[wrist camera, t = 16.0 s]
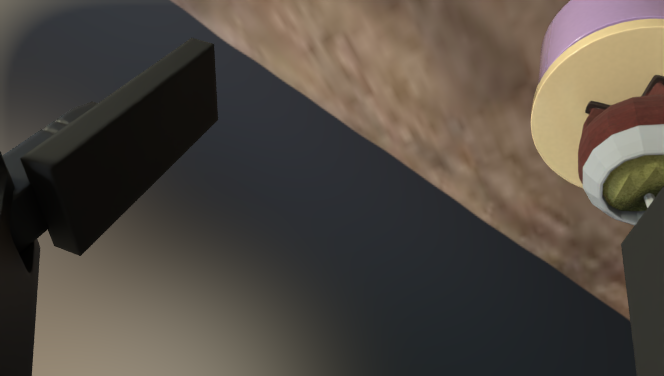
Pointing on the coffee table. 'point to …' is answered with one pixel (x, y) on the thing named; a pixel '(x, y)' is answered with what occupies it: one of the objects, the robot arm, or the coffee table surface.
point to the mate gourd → (624, 153)
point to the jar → (592, 70)
